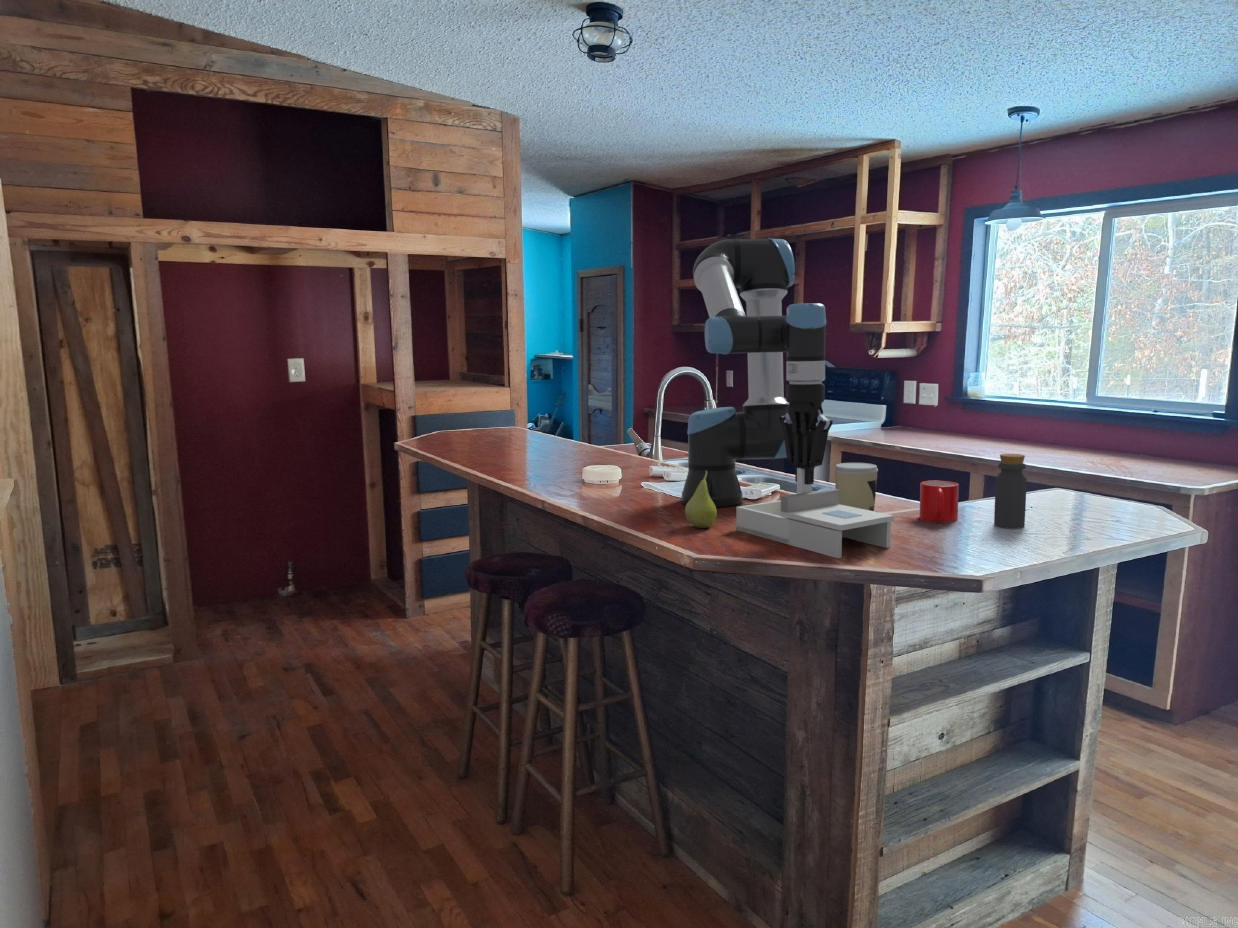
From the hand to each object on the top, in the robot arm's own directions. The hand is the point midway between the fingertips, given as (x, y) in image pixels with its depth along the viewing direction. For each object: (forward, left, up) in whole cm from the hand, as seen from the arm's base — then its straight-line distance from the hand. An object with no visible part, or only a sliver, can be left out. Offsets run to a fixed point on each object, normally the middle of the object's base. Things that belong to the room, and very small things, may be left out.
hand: (804, 499), depth 169 cm
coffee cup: (-6, +21, -8) cm, 23 cm away
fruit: (-20, -11, -8) cm, 24 cm away
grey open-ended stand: (+1, 0, -8) cm, 8 cm away
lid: (+9, 0, -2) cm, 9 cm away
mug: (+6, +34, -8) cm, 35 cm away
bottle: (+18, +41, -8) cm, 45 cm away
